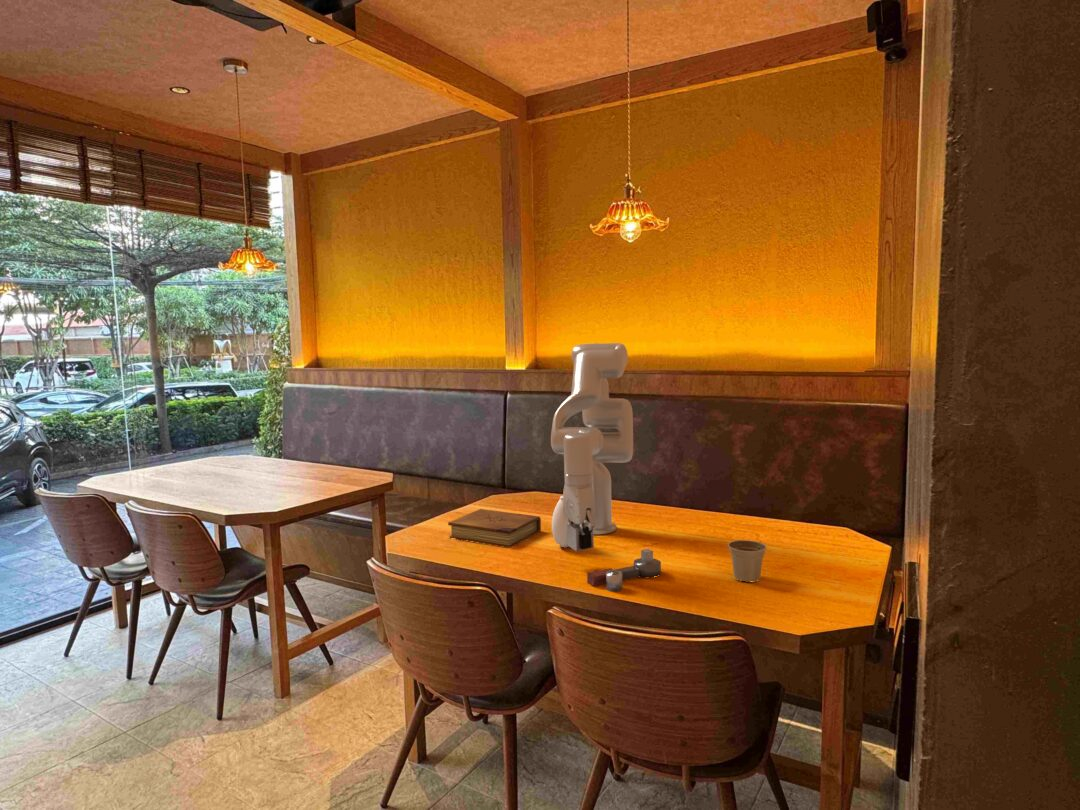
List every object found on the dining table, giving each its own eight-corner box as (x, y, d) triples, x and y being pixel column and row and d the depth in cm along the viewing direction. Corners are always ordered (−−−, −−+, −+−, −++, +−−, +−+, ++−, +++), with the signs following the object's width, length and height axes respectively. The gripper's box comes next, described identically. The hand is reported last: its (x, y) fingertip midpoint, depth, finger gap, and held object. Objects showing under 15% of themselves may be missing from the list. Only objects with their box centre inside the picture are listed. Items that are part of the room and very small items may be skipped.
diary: (541, 533, 212) (540, 515, 211) (510, 550, 195) (509, 531, 195) (482, 524, 223) (481, 507, 222) (448, 539, 207) (448, 521, 206)
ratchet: (583, 580, 168) (583, 556, 167) (650, 567, 176) (650, 544, 175) (597, 589, 161) (596, 565, 161) (666, 575, 170) (666, 552, 169)
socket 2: (603, 587, 162) (602, 571, 162) (617, 584, 164) (616, 568, 164) (611, 593, 159) (611, 576, 158) (625, 590, 160) (625, 573, 160)
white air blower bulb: (576, 551, 190) (575, 490, 188) (550, 550, 192) (548, 490, 190) (580, 543, 198) (579, 484, 196) (554, 542, 199) (553, 484, 198)
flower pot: (736, 569, 172) (736, 537, 172) (772, 577, 166) (772, 544, 166) (721, 580, 165) (721, 546, 164) (758, 588, 159) (758, 554, 158)
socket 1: (567, 545, 177) (566, 522, 176) (584, 541, 180) (583, 519, 179) (576, 551, 173) (575, 528, 172) (593, 547, 175) (593, 525, 174)
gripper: (552, 474, 180) (554, 537, 182) (581, 488, 164) (583, 557, 167) (576, 470, 183) (578, 533, 185) (607, 484, 167) (608, 552, 170)
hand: (580, 544), depth 176 cm, fingers closed on socket 1, 5 cm apart
